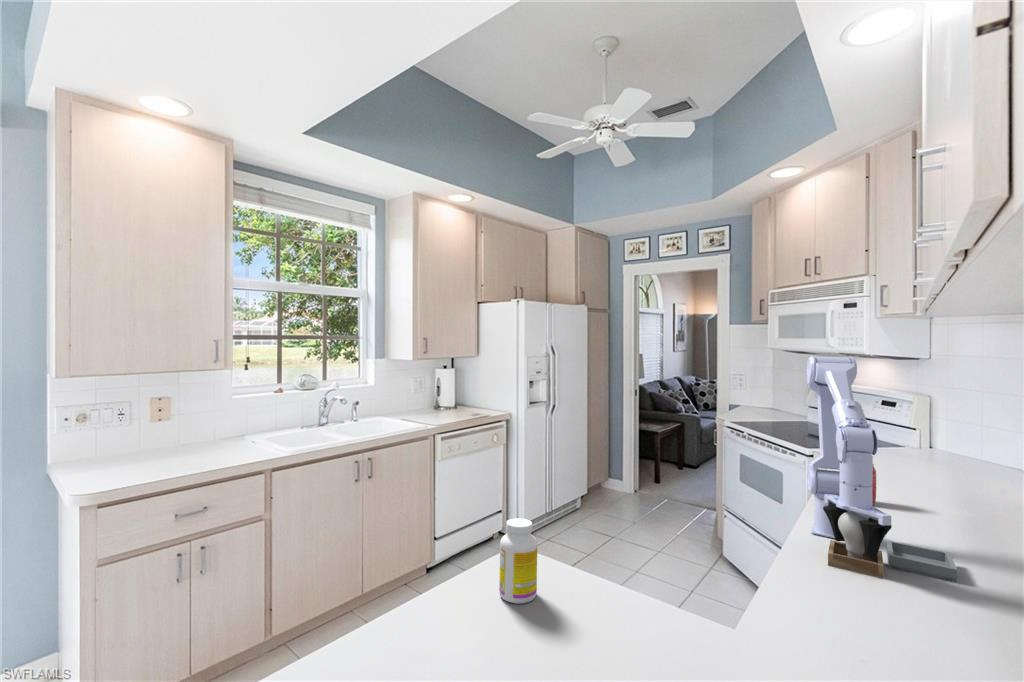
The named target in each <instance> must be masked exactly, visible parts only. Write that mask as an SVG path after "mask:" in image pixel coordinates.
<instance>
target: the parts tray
mask: <svg viewBox="0 0 1024 682" xmlns="http://www.w3.org/2000/svg"><path fill="white" fill-rule="evenodd" d="M886 555H887V557H886V558H887V563H888V568H891V569H895V570H900V571H905V572H909V573H911V574H912V573H913V574H916V575H921V576H927V577H931V578H935V579H938V580H939V579H940V580H942V581H943V580H945V581H948V582H953V583H958V568H957V566H956V563H955V562H954V559H953V557H952V554H951V553H950V552H949V551H944V550H939V549H935V548H929V547H925V546H924V547H923V546H918V545H913V544H910V543H904V542H898V541H894V540H890V539H889V540H888V539H887V540H886Z"/></svg>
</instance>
